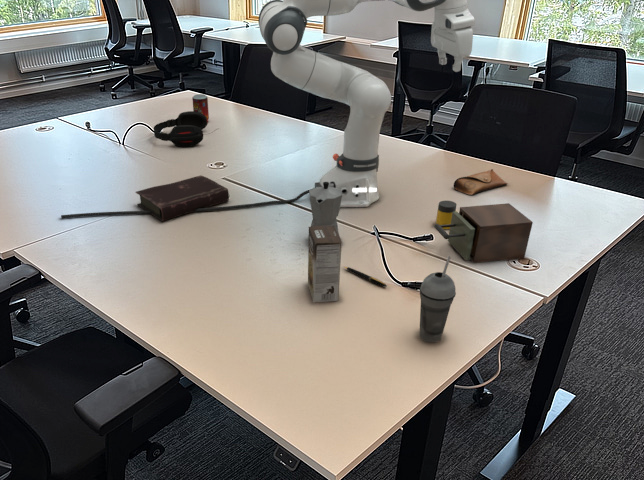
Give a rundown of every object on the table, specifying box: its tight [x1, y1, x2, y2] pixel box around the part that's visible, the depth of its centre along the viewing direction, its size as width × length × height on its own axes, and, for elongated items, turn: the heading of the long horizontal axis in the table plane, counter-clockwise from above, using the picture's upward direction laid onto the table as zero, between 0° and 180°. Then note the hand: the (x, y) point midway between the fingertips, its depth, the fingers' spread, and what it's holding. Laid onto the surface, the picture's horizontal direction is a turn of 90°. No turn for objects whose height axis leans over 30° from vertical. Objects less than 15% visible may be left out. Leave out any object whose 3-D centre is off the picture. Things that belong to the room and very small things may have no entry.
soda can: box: [191, 93, 210, 121], centre depth 275 cm, size 7×7×12 cm
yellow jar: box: [435, 200, 458, 230], centre depth 173 cm, size 5×5×7 cm
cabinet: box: [458, 202, 534, 264], centre depth 158 cm, size 14×13×11 cm
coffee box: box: [307, 225, 343, 303], centre depth 140 cm, size 9×6×16 cm
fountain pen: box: [344, 266, 388, 288], centre depth 150 cm, size 14×1×2 cm, turn 42°
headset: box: [153, 110, 218, 148], centre depth 253 cm, size 28×26×9 cm
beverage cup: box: [419, 255, 457, 344], centre depth 123 cm, size 7×7×20 cm
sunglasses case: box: [453, 168, 508, 196], centre depth 199 cm, size 18×7×7 cm, turn 121°
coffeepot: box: [308, 181, 343, 236], centre depth 164 cm, size 15×9×18 cm, turn 159°
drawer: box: [433, 210, 479, 260], centre depth 158 cm, size 19×11×9 cm, turn 97°
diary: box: [135, 175, 230, 222], centre depth 193 cm, size 19×25×5 cm
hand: (449, 67), depth 173 cm, fingers open, 8 cm apart
